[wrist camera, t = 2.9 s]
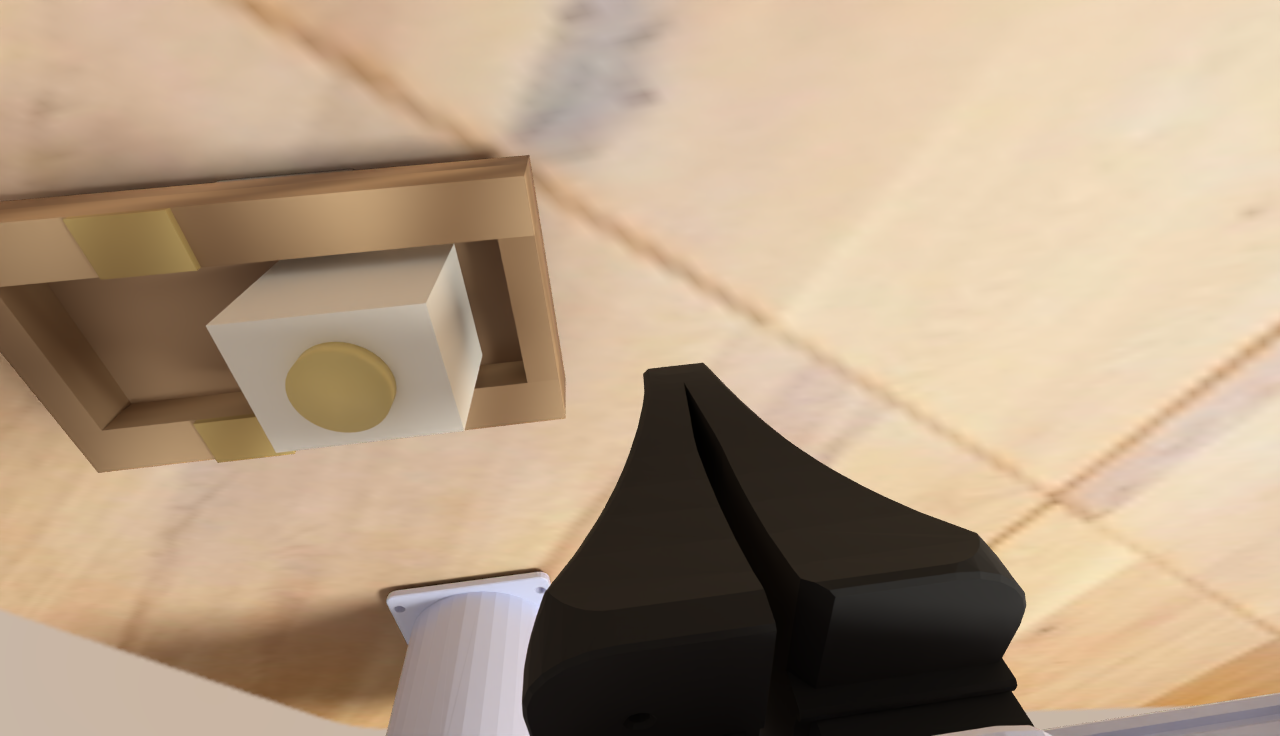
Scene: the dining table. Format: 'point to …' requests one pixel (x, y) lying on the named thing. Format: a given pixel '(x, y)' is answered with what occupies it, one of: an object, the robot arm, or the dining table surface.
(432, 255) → the block
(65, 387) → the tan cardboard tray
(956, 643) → the robot arm
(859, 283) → the dining table surface
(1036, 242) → the dining table surface
